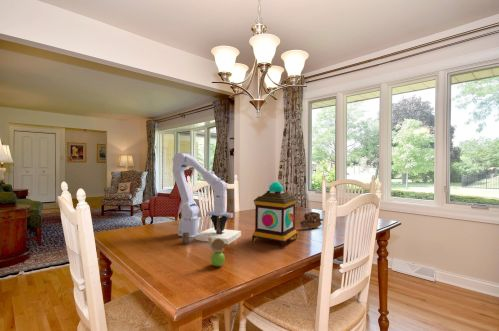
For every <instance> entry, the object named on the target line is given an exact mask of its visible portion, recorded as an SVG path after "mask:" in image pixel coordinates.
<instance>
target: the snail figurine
mask: <svg viewBox="0 0 499 331" xmlns="http://www.w3.org/2000/svg"><path fill="white" fill-rule="evenodd" d="M208 236H210V234H208ZM208 241H209V242H208V245H209V248H210V250H211V251H212V254H211V255H210V263H211V265H213V266H214V267H221V266H222V265H224V263H225V260H226V257H225V254H224V253H223V252H224V251H225V248H224V247H225V245H226V244H225V243H224V241H223V240H222V239H219V238H218V239H215V240H214V241H213V242H212V238H211V237H209V238H208Z"/></svg>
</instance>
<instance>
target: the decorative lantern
mask: <svg viewBox="0 0 499 331" xmlns="http://www.w3.org/2000/svg"><path fill="white" fill-rule="evenodd" d="M297 202H298V199H297V198H296V197H294V196H293V195H290V194H289V193H287V192H286V191H285V190H284V187H283V185H282V184H281V183H280V182H279V181H278V180H277V181H273V182H271V184H270V185H269V186H268V190H266V192H265V193H263V194H262V195H260V196H259V195H258V196H257V197H256V198H255V199H253V204H254V207H255V208H254V209H255V211H254V212H255V218H254V222H255V223H254V228H255V229H254V231H253V234H252V235H251V240H252V243H256V240H257V238H258V239H264V240H269V241H273V242H274V241H275V242H280V243H281V246H282V249H284V248H285V247H286V244H287V243H286V242H288V241H289V240H290V239H292V238H293V239H294V240H295V239H296V240H297V238H298V232H297V230H296V227H295V226H296V225H295V224H296V222H295V221H296V220H295V218H296V215H295V214H296V203H297Z"/></svg>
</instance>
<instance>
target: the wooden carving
mask: <svg viewBox="0 0 499 331" xmlns="http://www.w3.org/2000/svg"><path fill="white" fill-rule="evenodd" d="M303 217H304V219H301V220H300V221H299V223H300V226H301V228H302V229H306V228H307V229H312V228H314V229H318V228H319V227H320V226H321V225H323V224H322V221H324V218H321V214H320V213H319V212H315V211H308V212H306V213H304V216H303Z"/></svg>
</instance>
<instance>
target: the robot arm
mask: <svg viewBox="0 0 499 331" xmlns="http://www.w3.org/2000/svg"><path fill="white" fill-rule="evenodd" d="M188 166H189V167H191V168H193V169H194V170H195V171H197V172H198V173H199V174H201V176H202V179H203V180H204V181H205V182H206V183H207V184H209V186H210V187H212V191H213V192H214V193H213V200H214V201H213V210H211V211H210V210H207V211H206V212H205V213H206V214H205V215H206V216H210V220H211V222H212V225H213V228H214V229H215V230H216V218H220V223H221V231H223V230H224V229H225V226H226V223H227V221H228V220H229V218H230V219H231V218H233V217H234V213H231V212H226V190H227V187H228V185H227V182H226V181H225V180H223V179H221V177H218V176H217V175H216V174H215V171H212V170H207V169H206V168H205V167H204V166H203V165H202V164H201V163H200V162H199V161H198V160H197V159H196V157H194V156H192V154H191V153H189V152H186V153H183V152H176V154H174V157H172V174H173V177H174V181H175V183H176V186H177V190H178V193H179V197H180V199H181V205H180V208H181V218H180V219H179V221H178V234H177V236H178V237H179V236H180V237H183V233H185V232H188V233H189V238H190V239H191V238H196V235H197V234H199V233H200V232H198V227H199V226H198V221H199V220H198V216H199V215H200V210H201V209H200V207H199V206H198V204H197V202H196V201H195V200H194V199H193V196H192V193H191V190H190V188H189V184H188V181H187V178H186V175H185V171H186V169H187V167H188Z"/></svg>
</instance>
